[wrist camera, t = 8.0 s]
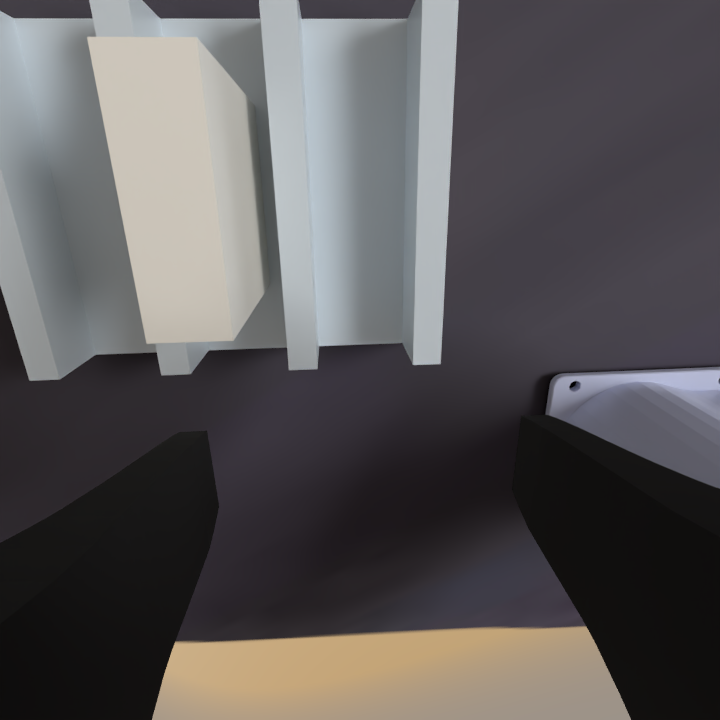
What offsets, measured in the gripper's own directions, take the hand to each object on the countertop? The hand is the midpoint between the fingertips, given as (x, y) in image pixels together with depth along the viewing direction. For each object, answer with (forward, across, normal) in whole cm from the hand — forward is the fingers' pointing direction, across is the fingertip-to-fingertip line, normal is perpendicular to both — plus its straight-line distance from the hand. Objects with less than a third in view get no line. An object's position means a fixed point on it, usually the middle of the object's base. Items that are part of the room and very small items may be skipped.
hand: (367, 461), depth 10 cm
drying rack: (+9, +4, -6) cm, 12 cm away
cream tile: (+8, +4, -6) cm, 11 cm away
